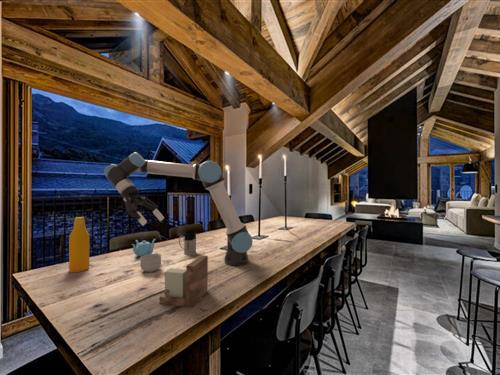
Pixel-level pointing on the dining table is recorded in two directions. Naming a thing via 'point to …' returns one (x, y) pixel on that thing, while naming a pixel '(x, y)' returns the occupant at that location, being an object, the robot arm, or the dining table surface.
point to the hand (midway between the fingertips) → (154, 221)
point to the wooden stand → (192, 284)
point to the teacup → (150, 262)
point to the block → (175, 283)
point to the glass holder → (189, 243)
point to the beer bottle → (79, 247)
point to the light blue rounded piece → (143, 248)
